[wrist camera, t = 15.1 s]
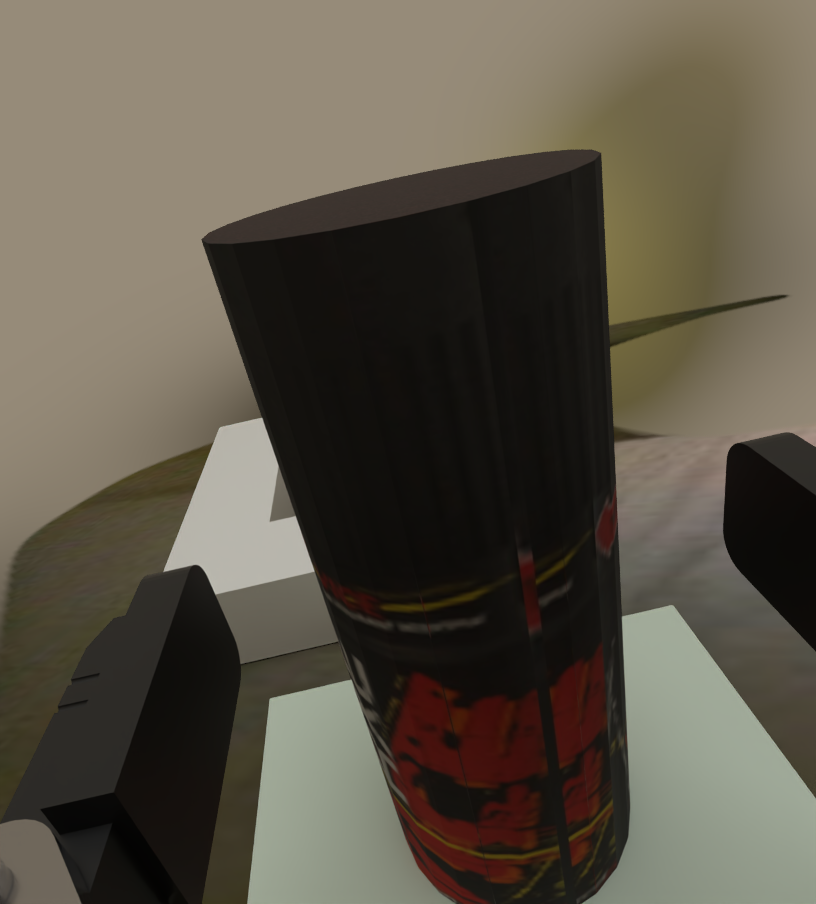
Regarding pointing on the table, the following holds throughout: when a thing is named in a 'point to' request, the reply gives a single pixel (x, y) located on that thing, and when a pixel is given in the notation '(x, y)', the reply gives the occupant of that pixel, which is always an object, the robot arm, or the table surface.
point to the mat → (650, 780)
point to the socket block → (253, 548)
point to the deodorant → (458, 498)
